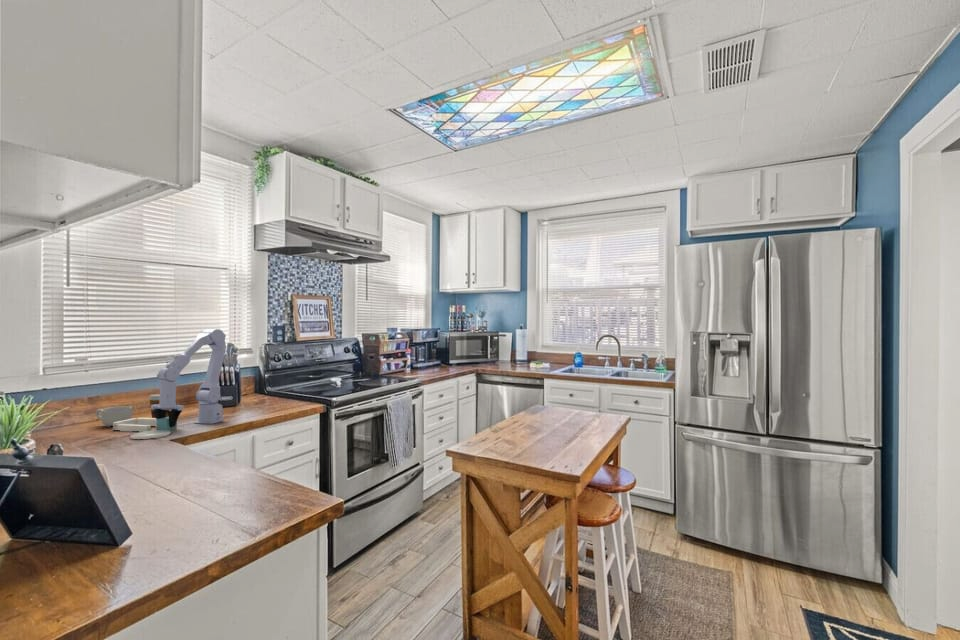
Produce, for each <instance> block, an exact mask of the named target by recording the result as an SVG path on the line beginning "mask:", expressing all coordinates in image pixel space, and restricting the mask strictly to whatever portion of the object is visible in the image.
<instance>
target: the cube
mask: <svg viewBox="0 0 960 640" xmlns="http://www.w3.org/2000/svg"><path fill="white" fill-rule="evenodd" d="M177 429H178V421H177V422H176V425H175V426H174V427H170V426H169V416H168V417H165V418H160V419H157V427H156V430H169V431H173V430H177Z"/></svg>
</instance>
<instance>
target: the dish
mask: <svg viewBox="0 0 960 640" xmlns="http://www.w3.org/2000/svg"><path fill="white" fill-rule="evenodd" d="M171 431H172V430H170V431H169V430H157V429H156V430H155V429H154V430H151V431H145V432H135V433H133V434H131V435H130V438H133V439H143V438H156V439H160V438H165V437H168V436H170V435H171V434H172V433H171Z"/></svg>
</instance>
